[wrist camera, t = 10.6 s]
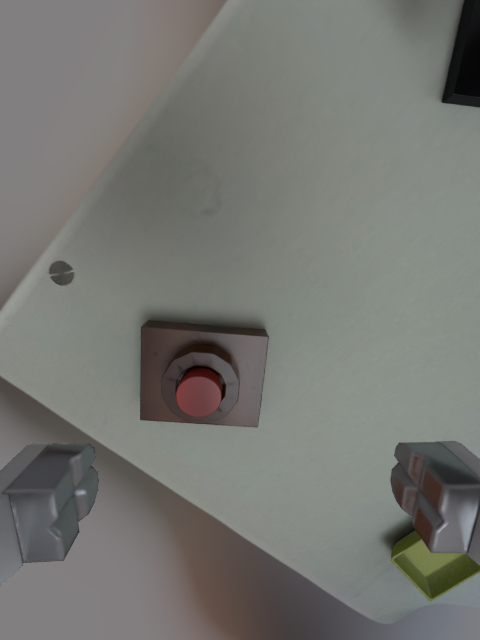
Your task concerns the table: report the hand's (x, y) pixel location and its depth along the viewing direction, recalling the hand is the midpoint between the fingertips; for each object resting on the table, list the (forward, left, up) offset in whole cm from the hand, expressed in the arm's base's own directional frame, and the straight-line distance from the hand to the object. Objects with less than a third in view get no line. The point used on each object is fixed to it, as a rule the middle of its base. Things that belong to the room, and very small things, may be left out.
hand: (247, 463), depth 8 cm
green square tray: (+26, -26, -20) cm, 41 cm away
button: (-3, -6, -16) cm, 17 cm away
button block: (-2, -6, -19) cm, 20 cm away
